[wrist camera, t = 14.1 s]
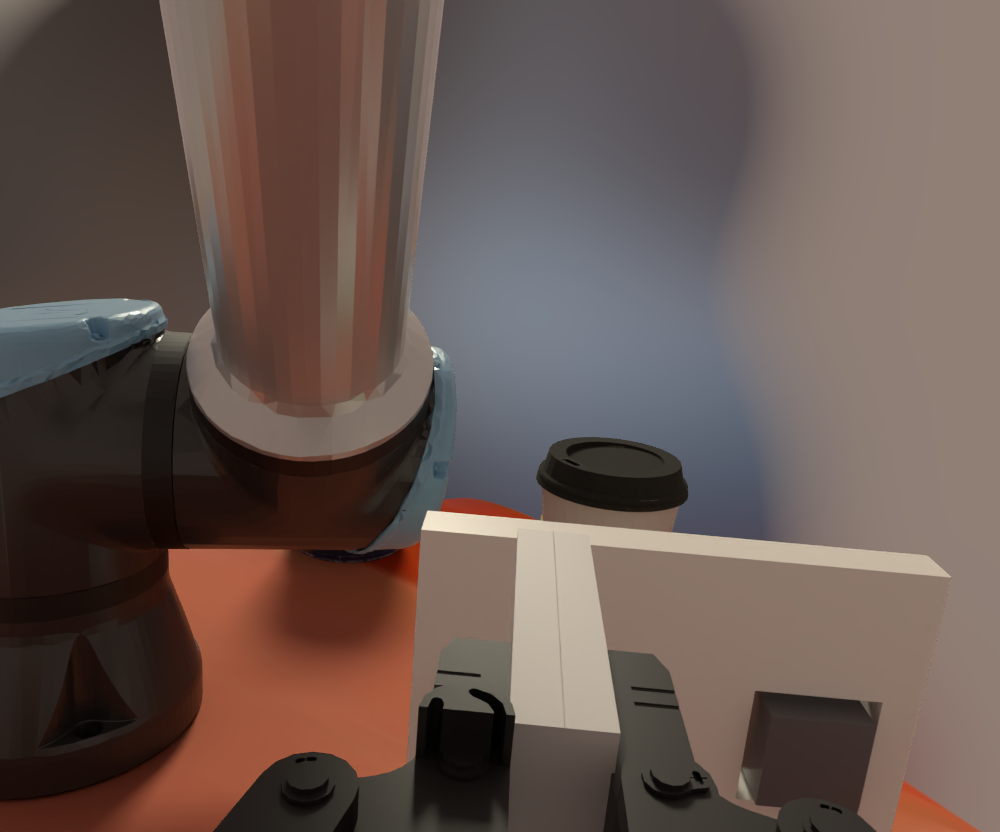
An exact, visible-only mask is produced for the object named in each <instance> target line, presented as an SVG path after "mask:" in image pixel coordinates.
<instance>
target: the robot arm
mask: <svg viewBox="0 0 1000 832" xmlns="http://www.w3.org/2000/svg"><path fill="white" fill-rule="evenodd" d="M159 1H160V7H161V13H162V19H163V25H164V31H165V37H166V43H167V49H168V55H169V60H170V67H171V73H172V79H173V85H174V91H175V97H176V102H177V109H178V115H179V121H180V127H181V133H182V139H183V145H184V151H185V157H186V163H187V169H188V175H189V181H190V187H191V192H192V199H193V204H194V211H195V216H196V222H197V229H198V234H199V240H200V246H201V253H202V258H203V265H204V271H205V276H206V282H207V288H208V294H209V300H210V306H211V307H210V309H209V310H208V311H207V312H206V313H205V315H204V316H203V317H202V318H201V320H200V321H199V323H198V325H197V326H196V328H195V331H194V333H182V332H169V331H167V330H166V329H165V328H166V327H167V326H168V319H167V318H166V317H165V315H164V314H163V310H162V308H161V306H160V305H159V304H158V303H156V302H153V301H149V300H128V299H93V300H78V301H64V302H53V303H43V304H34V305H25V306H17V307H10V308H2V309H0V799H18V798H29V797H37V796H44V795H50V794H55V793H60V792H65V791H69V790H73V789H77V788H80V787H84V786H87V785H90V784H93V783H96V782H99V781H102V780H105V779H107V778H110V777H113V776H115V775H117V774H120V773H122V772H124V771H126V770H128V769H130V768H132V767H134V766H136V765H138V764H140V763H142V762H144V761H145V760H147V759H149V758H150V757H152V756H154V755H155V754H157V753H158V752H160V751H161V750H162V749H164V748H165V747H166V746H168V745H169V744H170V743H171V742H173V741H174V740H175V739H176V738H177V737H178V736H179V735H180V734H181V733H182V732H183V731H184V730H185V729H186V728H187V727H188V725H189V724H190V723H191V721H192V720H193V718H194V717H195V715H196V713H197V711H198V709H199V706H200V704H201V700H202V692H203V688H202V658H201V653H200V649H199V647H198V644H197V642H196V640H195V639H194V637H193V634H192V631H191V628H190V625H189V623H188V620H187V618H186V615H185V612H184V610H183V607H182V605H181V602H180V600H179V597H178V595H177V593H176V590H175V588H174V585H173V583H172V580H171V578H170V574H169V558H168V549H285V550H345V551H347V552H349V553H354V554H366V553H367V552H372V551H373V550H383V549H403V548H407V547H410V546H413V545H415V544H417V543H418V542H420V540H421V529H422V526H423V523H424V520H425V517H426V514H427V511H438V512H440V509H441V506H442V503H443V500H444V496H445V493H446V488H447V484H448V464H449V462H450V460H451V459H452V453H453V448H454V440H455V431H456V411H457V399H456V384H455V375H454V370H453V366H452V363H451V360H450V358H449V357H448V355H447V354H446V353H445V352H444V351H443V350H442V349H440V348H437V347H434V346H430V343H429V339H428V337H427V334H426V331H425V329H424V328H423V326H422V325H421V323H420V321H419V320H418V318H417V317H416V316H415V315H414V314H413V312H412V311H411V310H410V309H409V305H410V296H411V287H412V279H413V269H414V261H415V252H416V243H417V235H418V225H419V217H420V208H421V199H422V191H423V181H424V173H425V164H426V155H427V146H428V138H429V137H428V136H429V129H430V128H429V127H430V120H431V111H432V102H433V94H434V85H435V76H436V67H437V58H438V49H439V41H440V31H441V23H442V14H443V5H444V0H159ZM213 832H876V830H875V829H873V828H872V827H871V826H870V825H869V824H868V823H867V822H866V821H865V820H864V819H863V818H862V817H860V816H859V815H857V814H855V813H854V812H852V811H850V810H848V809H847V808H845V807H843V806H841V805H838V804H835V803H832V802H829V801H826V800H823V799H813V798H800V799H796V800H792V801H789V802H787V803H786V804H785V805H784V806H783V807H782V808H781V809H780V810H779V813H778V818H777V819H774V818H771V817H768V816H765V815H762V814H759V813H756V812H753V811H750V810H747V809H745V808H743V807H740V806H738V805H735V804H733V803H731V802H730V801H728V800H726V799H725V798H723V797H721V796H720V795H719V792H718V789H717V786H716V784H715V783H714V781H713V779H712V777H711V776H710V774H709V773H708V772H707V771H706V770H704V769H703V768H702V767H701V766H700V765H699V764H698V763H696V762H695V760H694V757H693V753H692V750H691V746H690V743H689V739H688V735H687V732H686V728H685V725H684V721H683V718H682V714H681V711H680V710H679V703H678V700H677V696H676V694H675V689H674V686H673V682H672V678H671V675H670V672H669V671H668V669H667V668H666V667H665V666H664V665H663V664H662V663H661V662H660V661H659V660H658V659H657V658H656V656H655V655H654V654H647V653H637V652H627V651H616V650H607V645H606V639H605V633H604V627H603V620H602V614H601V608H600V602H599V595H598V589H597V583H596V576H595V570H594V564H593V558H592V551H591V545H590V539H589V535H585V534H574V533H564V532H553V531H542V530H532V529H521V528H518V533H517V543H516V554H515V564H514V574H513V584H512V594H511V605H510V615H509V625H508V635H507V642H501V641H490V640H480V639H470V638H459V637H455V638H454V639H453V640H452V641H451V642H450V643H449V644H448V645H447V646H446V647H445V648H444V649H443V650H442V651H441V653H440V658H439V663H438V668H437V673H436V678H435V683H434V688H433V690H432V691H431V692H429V693H428V694H426V695H425V696H424V698H423V699H422V701H421V703H420V705H419V709H418V724H417V739H416V754H415V757H414V758H413V759H412V760H411V761H410V762H408V763H407V764H405V765H404V766H403V767H401V768H398V769H396V770H394V771H391V772H389V773H384V774H380V775H376V776H369V777H362V778H357V773H356V771H355V770H354V769H353V768H352V767H351V766H350V765H349V763H348V762H347V761H345V760H343V759H341V758H339V757H336V756H334V755H332V754H326V753H318V752H308V753H300V754H293V755H291V756H288V757H286V758H284V759H281V760H279V761H276V762H275V763H274V764H273V765H271V766H270V767H269V768H268V769H266V770H265V771H264V772H263V773H262V774H261V775H260V776H259V778H258V779H257V780H256V781H255V782H254V784H253V785H252V786H251V787H250V788H249V790H248V791H247V792H246V793H245V794H244V795H243V797H242V798H241V799H240V800H239V801H238V803H237V804H236V805H235V806H234V807H233V809H232V810H231V811H230V812H229V813H228V814H227V816H226V817H225V818H224V819H223V820H222V822H221V823H220V824H219V825H218V826H217V828H216V829H215V830H214V831H213Z"/></svg>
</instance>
